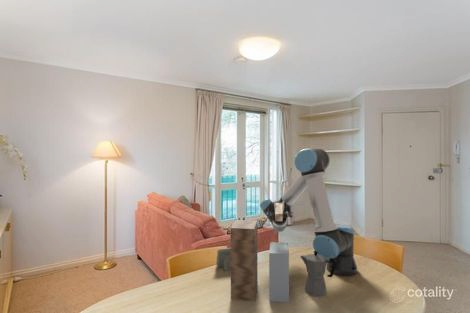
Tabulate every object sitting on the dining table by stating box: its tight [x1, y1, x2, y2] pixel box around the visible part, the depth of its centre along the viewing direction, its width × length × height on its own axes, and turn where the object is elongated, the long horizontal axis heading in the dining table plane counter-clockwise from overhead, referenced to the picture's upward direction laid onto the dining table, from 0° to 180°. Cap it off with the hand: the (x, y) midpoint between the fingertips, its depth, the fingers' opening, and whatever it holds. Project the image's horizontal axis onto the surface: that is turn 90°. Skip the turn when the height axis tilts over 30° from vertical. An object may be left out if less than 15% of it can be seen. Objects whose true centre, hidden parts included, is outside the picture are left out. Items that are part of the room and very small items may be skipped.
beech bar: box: [275, 203, 283, 221], centre depth 123 cm, size 3×24×3 cm, turn 170°
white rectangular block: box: [268, 241, 290, 303], centre depth 120 cm, size 8×14×20 cm, turn 170°
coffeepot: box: [300, 250, 337, 298], centre depth 121 cm, size 15×9×18 cm, turn 69°
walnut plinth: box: [230, 219, 259, 302], centre depth 122 cm, size 10×14×30 cm
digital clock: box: [215, 247, 231, 271], centre depth 149 cm, size 16×9×11 cm, turn 96°
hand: (279, 203), depth 127 cm, fingers closed on beech bar, 3 cm apart
